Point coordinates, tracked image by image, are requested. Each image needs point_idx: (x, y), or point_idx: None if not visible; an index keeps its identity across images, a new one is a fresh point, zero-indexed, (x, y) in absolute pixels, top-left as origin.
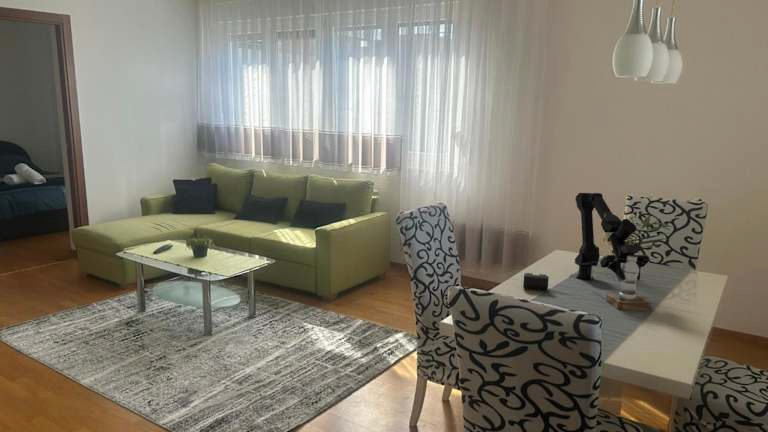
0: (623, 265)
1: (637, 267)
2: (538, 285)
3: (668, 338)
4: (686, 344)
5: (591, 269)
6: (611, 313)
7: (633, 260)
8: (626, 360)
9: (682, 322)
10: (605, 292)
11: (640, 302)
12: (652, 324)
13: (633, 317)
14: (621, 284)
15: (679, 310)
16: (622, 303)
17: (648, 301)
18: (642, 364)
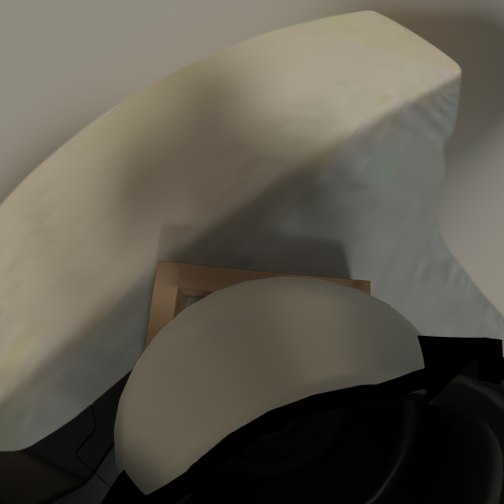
0: (442, 481)
1: (219, 307)
2: None
3: (311, 64)
4: (286, 42)
5: None
6: (407, 257)
7: (490, 343)
8: (437, 57)
9: (159, 130)
10: None
11: (235, 270)
12: (296, 130)
13: (334, 198)
14: (318, 418)
15: (55, 241)
16: (355, 281)
17: (169, 277)
18: (416, 43)
